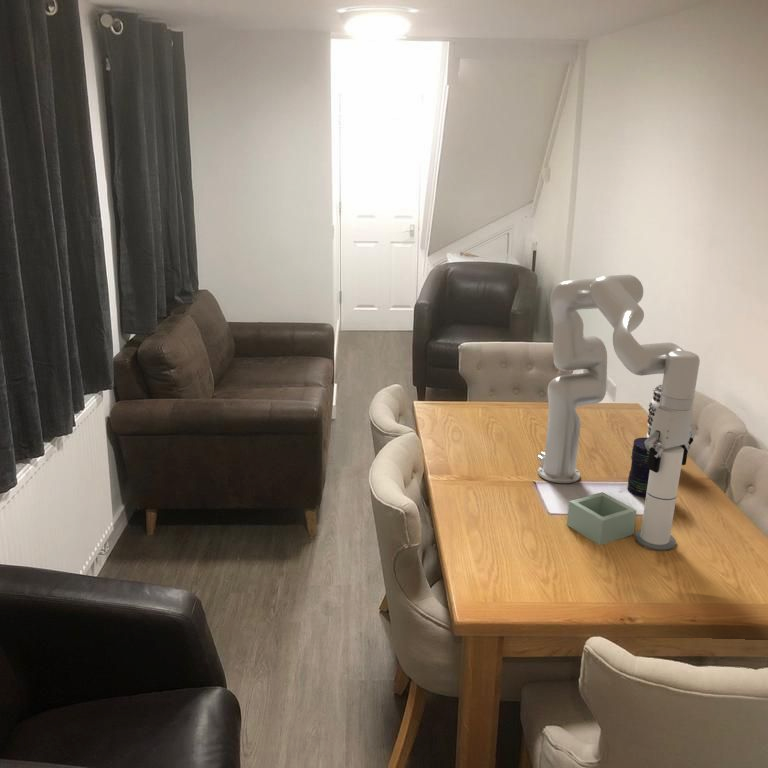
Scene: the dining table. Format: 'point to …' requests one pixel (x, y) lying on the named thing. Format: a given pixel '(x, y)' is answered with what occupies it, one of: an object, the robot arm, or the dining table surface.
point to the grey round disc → (663, 547)
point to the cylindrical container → (662, 497)
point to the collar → (601, 518)
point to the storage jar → (639, 469)
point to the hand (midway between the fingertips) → (666, 466)
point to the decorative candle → (653, 406)
